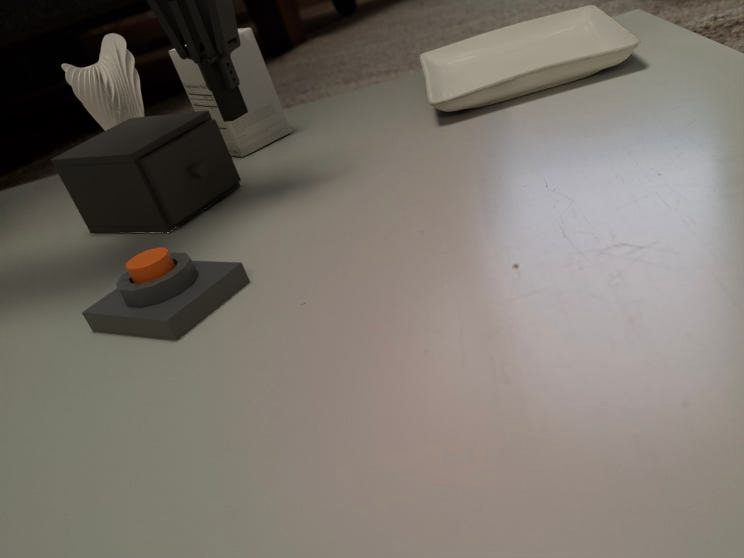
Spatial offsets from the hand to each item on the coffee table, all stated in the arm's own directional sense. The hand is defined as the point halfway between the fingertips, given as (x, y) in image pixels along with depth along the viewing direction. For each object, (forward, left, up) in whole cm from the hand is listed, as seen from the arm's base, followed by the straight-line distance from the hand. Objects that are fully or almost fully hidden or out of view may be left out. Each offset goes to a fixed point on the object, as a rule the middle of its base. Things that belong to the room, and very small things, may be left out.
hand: (236, 116), depth 97 cm
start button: (+3, -27, -6) cm, 27 cm away
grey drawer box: (-14, -1, -9) cm, 17 cm away
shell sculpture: (-32, +21, -10) cm, 40 cm away
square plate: (+27, +30, -10) cm, 41 cm away
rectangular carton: (-12, +20, -10) cm, 26 cm away
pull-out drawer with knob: (-12, -1, -8) cm, 15 cm away
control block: (+3, -27, -9) cm, 28 cm away
